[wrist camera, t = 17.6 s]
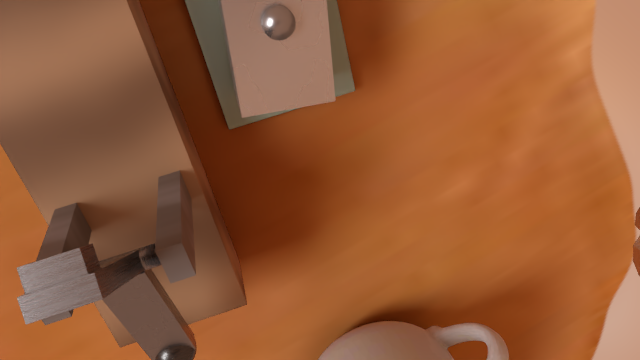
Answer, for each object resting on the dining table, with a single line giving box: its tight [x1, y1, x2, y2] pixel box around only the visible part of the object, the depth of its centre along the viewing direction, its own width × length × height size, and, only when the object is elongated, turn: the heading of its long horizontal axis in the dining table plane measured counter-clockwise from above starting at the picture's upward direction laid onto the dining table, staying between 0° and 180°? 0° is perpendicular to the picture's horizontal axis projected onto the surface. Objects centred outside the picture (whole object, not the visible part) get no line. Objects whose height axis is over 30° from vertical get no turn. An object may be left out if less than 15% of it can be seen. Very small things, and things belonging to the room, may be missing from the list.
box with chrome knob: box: [218, 0, 335, 118], centre depth 25 cm, size 6×4×4 cm
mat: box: [185, 0, 355, 130], centre depth 27 cm, size 9×7×1 cm
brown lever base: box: [0, 0, 247, 347], centre depth 23 cm, size 24×7×10 cm, turn 13°
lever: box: [17, 243, 196, 360], centre depth 22 cm, size 12×3×7 cm
